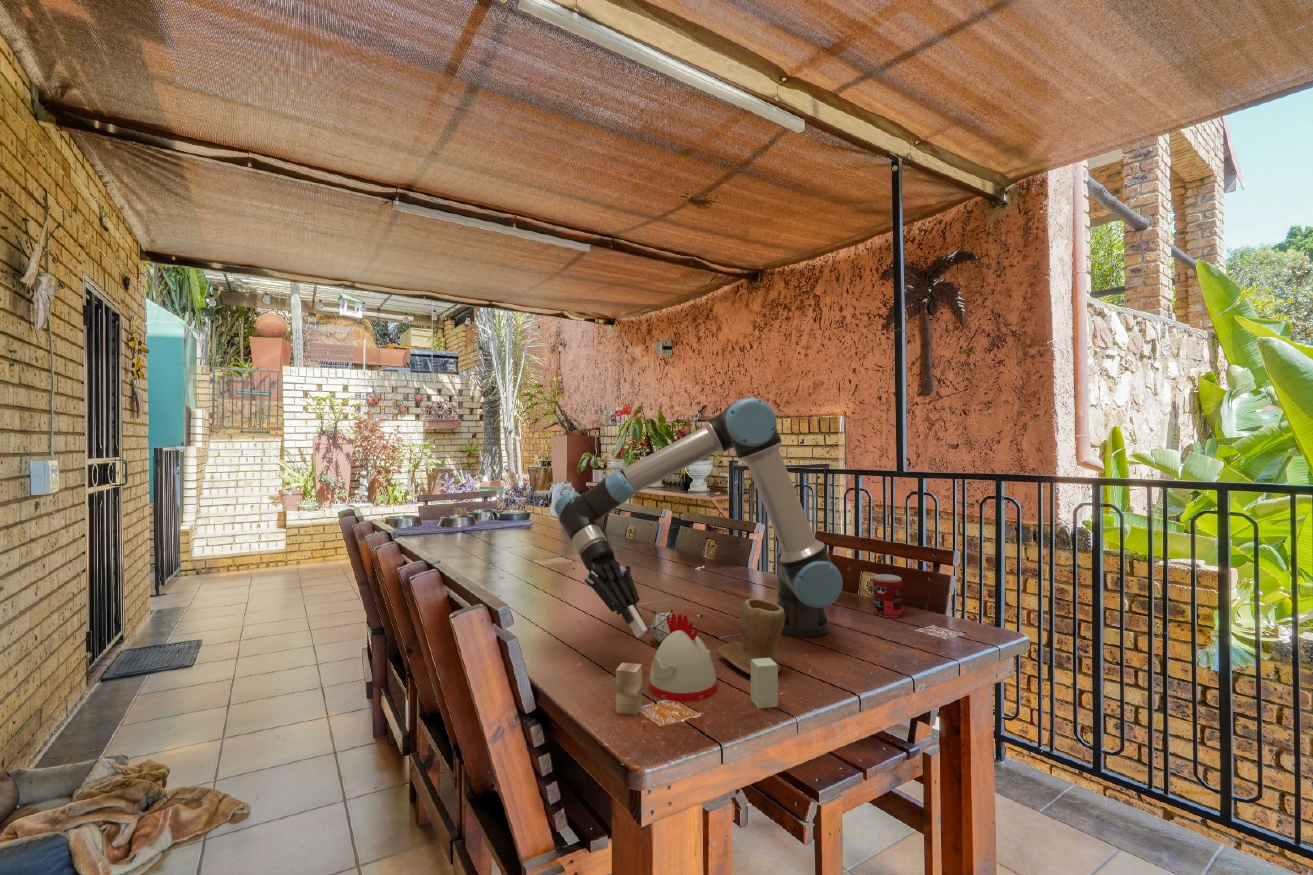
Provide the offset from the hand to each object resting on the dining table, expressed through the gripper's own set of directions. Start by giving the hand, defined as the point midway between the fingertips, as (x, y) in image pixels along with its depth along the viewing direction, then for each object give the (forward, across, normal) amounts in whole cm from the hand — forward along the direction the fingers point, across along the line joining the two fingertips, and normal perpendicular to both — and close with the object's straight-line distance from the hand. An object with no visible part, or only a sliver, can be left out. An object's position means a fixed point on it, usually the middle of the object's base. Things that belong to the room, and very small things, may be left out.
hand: (642, 633), depth 132 cm
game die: (-1, -18, -13) cm, 22 cm away
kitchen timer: (+14, 0, +2) cm, 15 cm away
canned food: (+21, -80, +10) cm, 84 cm away
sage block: (+26, -5, +14) cm, 30 cm away
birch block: (+14, +14, +2) cm, 20 cm away
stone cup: (+18, -20, +5) cm, 27 cm away
